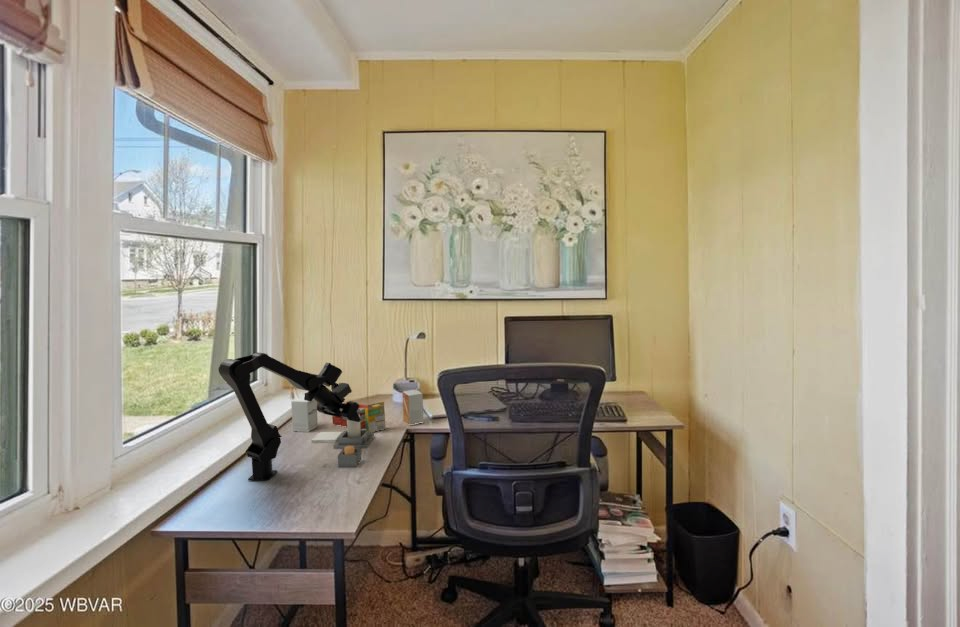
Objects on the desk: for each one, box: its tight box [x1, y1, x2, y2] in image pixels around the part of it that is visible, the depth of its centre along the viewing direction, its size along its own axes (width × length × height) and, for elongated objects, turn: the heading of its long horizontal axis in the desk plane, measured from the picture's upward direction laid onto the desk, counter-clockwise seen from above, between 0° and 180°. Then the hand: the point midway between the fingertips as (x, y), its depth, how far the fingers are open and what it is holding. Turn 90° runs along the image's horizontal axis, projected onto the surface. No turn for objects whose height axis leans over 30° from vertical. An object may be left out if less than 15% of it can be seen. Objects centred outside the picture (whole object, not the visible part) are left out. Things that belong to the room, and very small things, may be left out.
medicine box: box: [331, 402, 368, 429], centre depth 199 cm, size 15×8×8 cm, turn 61°
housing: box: [332, 429, 375, 450], centre depth 177 cm, size 12×12×3 cm
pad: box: [310, 431, 343, 444], centre depth 182 cm, size 9×9×1 cm
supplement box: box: [290, 396, 319, 433], centre depth 194 cm, size 7×7×13 cm
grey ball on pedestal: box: [346, 409, 362, 438], centre depth 176 cm, size 5×5×12 cm
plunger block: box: [337, 448, 362, 468], centre depth 157 cm, size 6×6×4 cm
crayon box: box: [365, 401, 386, 434], centre depth 189 cm, size 7×3×12 cm, turn 126°
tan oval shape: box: [343, 445, 355, 454], centre depth 157 cm, size 3×3×5 cm
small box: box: [401, 389, 425, 425], centre depth 199 cm, size 8×6×13 cm
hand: (351, 418), depth 176 cm, fingers open, 9 cm apart
